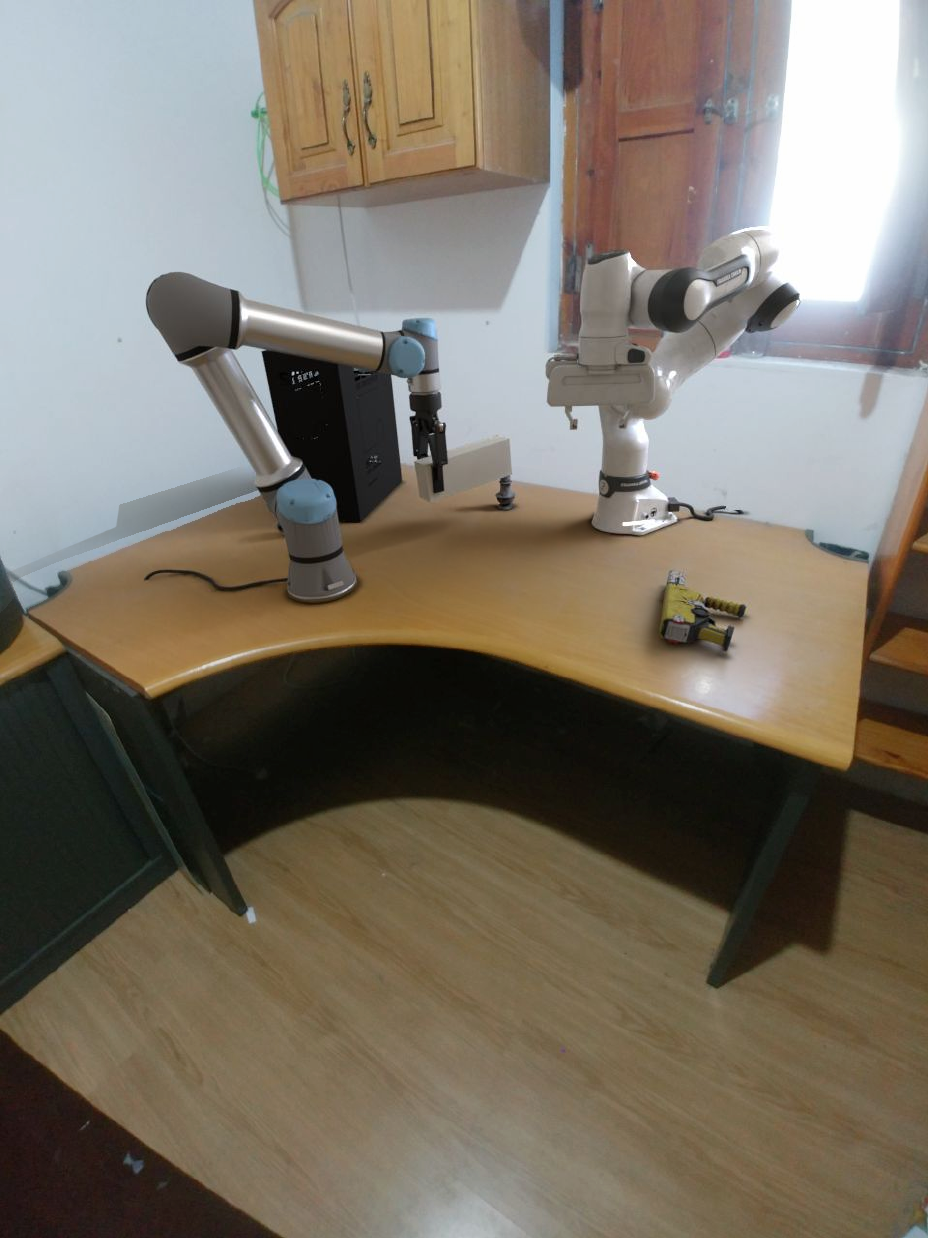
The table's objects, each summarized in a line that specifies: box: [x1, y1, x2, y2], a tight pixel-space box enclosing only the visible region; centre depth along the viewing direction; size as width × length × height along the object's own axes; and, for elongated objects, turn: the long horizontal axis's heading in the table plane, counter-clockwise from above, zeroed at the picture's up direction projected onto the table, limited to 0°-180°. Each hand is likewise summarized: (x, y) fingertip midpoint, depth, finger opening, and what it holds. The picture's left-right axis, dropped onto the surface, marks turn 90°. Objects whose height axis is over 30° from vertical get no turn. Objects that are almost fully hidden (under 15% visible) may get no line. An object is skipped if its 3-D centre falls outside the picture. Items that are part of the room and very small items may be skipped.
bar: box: [413, 434, 513, 504], centre depth 155 cm, size 25×6×10 cm, turn 123°
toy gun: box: [659, 569, 747, 652], centre depth 114 cm, size 5×24×15 cm
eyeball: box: [275, 518, 284, 535], centre depth 163 cm, size 6×6×6 cm
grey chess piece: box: [495, 475, 517, 511], centre depth 172 cm, size 6×6×12 cm
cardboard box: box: [260, 349, 403, 523], centre depth 177 cm, size 38×20×45 cm, turn 167°
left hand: (432, 488), depth 152 cm, fingers closed on bar, 6 cm apart
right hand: (597, 428), depth 119 cm, fingers open, 8 cm apart
